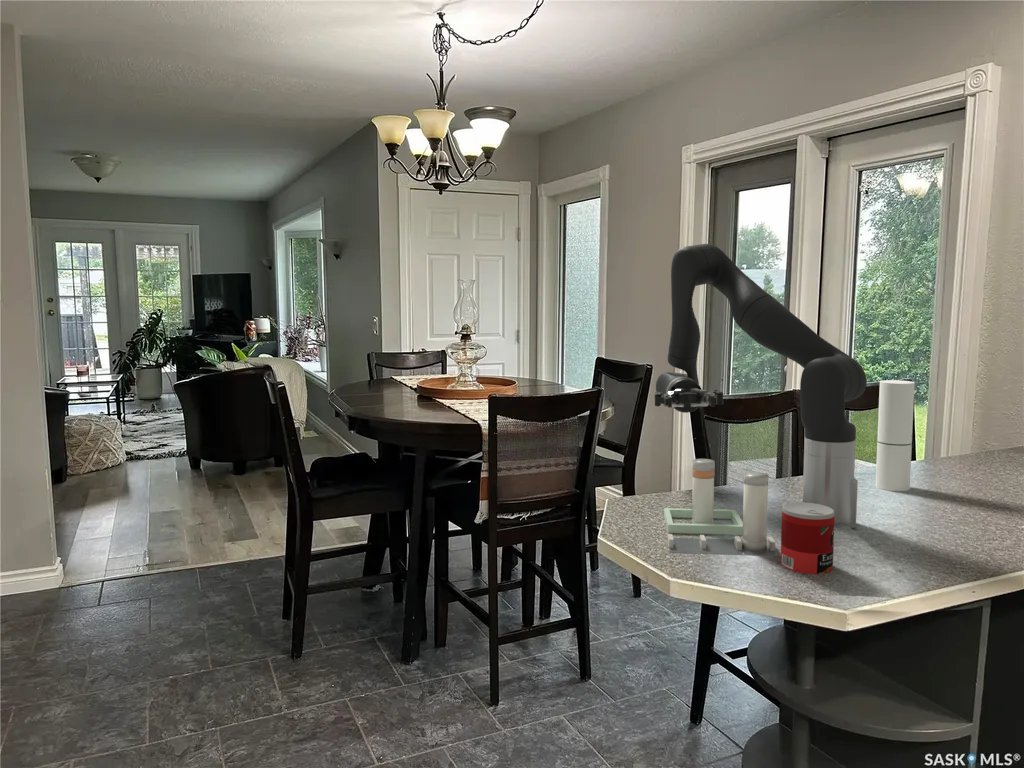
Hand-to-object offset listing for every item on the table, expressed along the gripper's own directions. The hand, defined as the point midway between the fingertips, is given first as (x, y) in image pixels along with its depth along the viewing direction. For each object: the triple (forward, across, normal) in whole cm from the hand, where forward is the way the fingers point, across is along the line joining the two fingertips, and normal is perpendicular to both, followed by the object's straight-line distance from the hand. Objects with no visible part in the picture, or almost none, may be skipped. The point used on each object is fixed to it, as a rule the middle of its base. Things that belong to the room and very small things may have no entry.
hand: (691, 402), depth 150 cm
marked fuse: (+11, +1, +23) cm, 25 cm away
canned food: (+31, +15, +25) cm, 43 cm away
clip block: (+23, +2, +24) cm, 34 cm away
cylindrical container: (-27, +48, +25) cm, 61 cm away
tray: (+11, +1, +24) cm, 26 cm away
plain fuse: (+23, +8, +23) cm, 34 cm away
